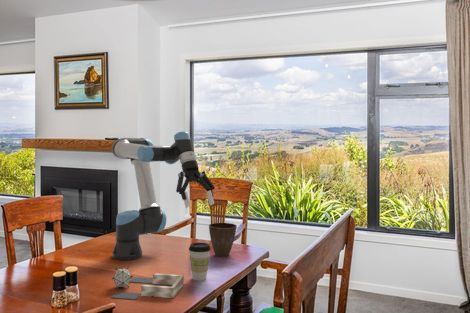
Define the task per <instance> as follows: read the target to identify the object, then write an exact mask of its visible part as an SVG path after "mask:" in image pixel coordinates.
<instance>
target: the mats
mask: <svg viewBox="0 0 470 313" xmlns="http://www.w3.org/2000/svg"><path fill="white" fill-rule="evenodd" d="M129 283H134V284H135V283H136V284H145V285H152V284H153V277H152V278H151V277H139V276H138V277H137V276H133V277H132V278H131V280H130V282H129ZM139 297H141V292H129V291H128V292H126V291H125V292H124V291H116V292H115V293H114V294H113V295H112V296H111V297H110V298H111V299H121V300H134V301H136V300H138V299H139Z"/></svg>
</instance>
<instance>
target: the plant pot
mask: <svg viewBox="0 0 470 313" xmlns="http://www.w3.org/2000/svg"><path fill="white" fill-rule="evenodd" d="M237 226H238V225H236V224H234V223H229V222H214V223H210V224H209V225H208V229H209V231H208V232H209V236H210V242H211V247H212V249H213V253H214V255H215V256H216V257H219V258H220V257H223V258H224V257H228V256H230V253H231V250H232V247H233V245H234V241H235V237H236V233H237Z"/></svg>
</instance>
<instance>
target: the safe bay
mask: <svg viewBox="0 0 470 313" xmlns="http://www.w3.org/2000/svg"><path fill="white" fill-rule="evenodd" d="M152 278H153V283H152V284H157V285H152V284H141V286H140V288H141V289H140V293H141V295H140V297H151V296H154V298H155V297H156V298H168V299H174V298H176V296H177V294H178V293H179V292H180V290H181V289H182V288H183V286H184V285H185V284H184V283H185V276H184V275H182V274H170V273H169V274H168V273H156V272H155V273H152ZM166 285H170V286H166Z"/></svg>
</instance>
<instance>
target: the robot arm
mask: <svg viewBox="0 0 470 313" xmlns="http://www.w3.org/2000/svg"><path fill="white" fill-rule="evenodd" d="M173 138H174V140H173V141H174V142H173V143H172V144H171V145H154V143H153V141H152V140H150V139H149V138H144V137H137V138H136V137H123V138H118V139H116V140H115V141H113V143H112V145H111V153H112V155H113V156H115V158H118V159H120V160H121V159H122V160H130V164H131V165H132V166H134V171H135V178H136V184H137V191H138V192H137V193H138V196H139V198H138V199H139V203H140V208H139V209H138V210H137V209H136V210H135V209H133V210H132V209H131V210H124V211H122V212H121V211H120V212H119V213H117V215H116V221H115V244H114V247H113V250H112V259H114V260H116V261H117V260H118V261H133V260H139V259H140V258H142V257H143V250H142V246H141V243H140V236H142V235H143V236H144V235H150V234H156V233H160V232H163V231H164V229H165V227H166V225H167V214H166V212H165V211H164V210H161V206H160V205H158V204H157V198H156V197H157V196H156V193H155V186H154V179H153V176H152V175H153V174H152V168H151V162H165V163H166V164H168V165H174V164H175V163H177V162H178V161H179V162H180V165H181V170H182V171H180V172H179V173H178V174H177V175H178V176H177V177H178V180H177V185H176V190H175V191H176V194H177V193H178V195H180V196H181V199H182V201H183V202H184V206H185V208H188V207H191V203H190V199H189V196H188V192H187V191H186V189H187V188H188V187H189V186H188V185H189V184H190V183H192V182H194V183H198V184H199V185H201V187H202V188H203V189H204V191H206V196H207V200H208V204H209V206H212V205H214V204H215V201H214V193H213V190H215V189H216V188H215V185H214V184H213V183H212V182H211V180H210V178H209V177H208V175H207V174H206V172H205V171H204V170H202V172H201V171H199V167H200V166H199V163H198V161H197V157H196V154H195V150H194V146H193V142H192V138H191V136H190V133H189V132H188V131H184V130H183V131H182V130H181V131H179V132H177V133H175V134H174V135H173ZM184 178H185V180H184ZM183 182H184V183H183Z"/></svg>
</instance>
